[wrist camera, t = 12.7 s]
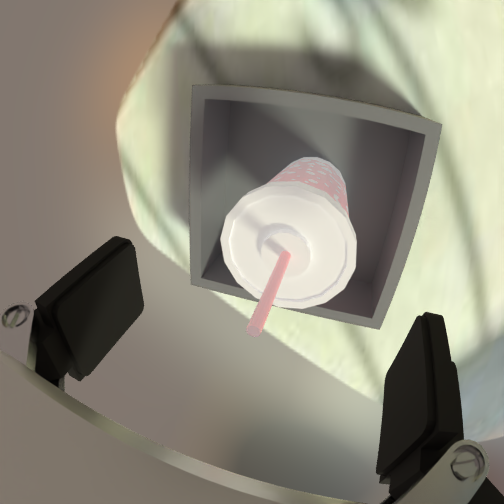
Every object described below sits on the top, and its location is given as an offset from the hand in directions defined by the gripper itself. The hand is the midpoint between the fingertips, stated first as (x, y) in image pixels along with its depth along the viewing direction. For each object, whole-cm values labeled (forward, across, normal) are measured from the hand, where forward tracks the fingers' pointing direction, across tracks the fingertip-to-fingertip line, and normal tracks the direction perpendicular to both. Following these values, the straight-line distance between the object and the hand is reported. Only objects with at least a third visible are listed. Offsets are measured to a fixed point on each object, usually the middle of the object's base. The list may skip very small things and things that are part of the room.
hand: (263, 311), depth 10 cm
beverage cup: (+14, 0, +1) cm, 14 cm away
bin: (+14, +1, +1) cm, 14 cm away
